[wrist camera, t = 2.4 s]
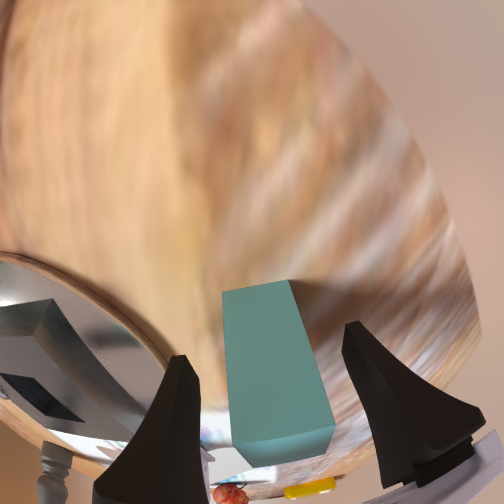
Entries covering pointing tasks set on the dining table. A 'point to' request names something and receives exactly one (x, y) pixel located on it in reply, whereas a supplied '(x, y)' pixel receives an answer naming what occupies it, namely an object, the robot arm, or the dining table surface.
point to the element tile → (310, 488)
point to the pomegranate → (230, 494)
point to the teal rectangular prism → (273, 378)
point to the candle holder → (54, 474)
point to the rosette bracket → (72, 354)
